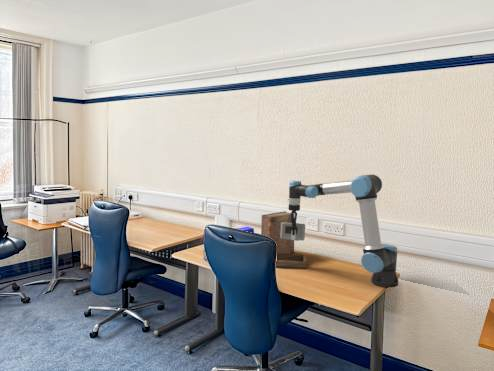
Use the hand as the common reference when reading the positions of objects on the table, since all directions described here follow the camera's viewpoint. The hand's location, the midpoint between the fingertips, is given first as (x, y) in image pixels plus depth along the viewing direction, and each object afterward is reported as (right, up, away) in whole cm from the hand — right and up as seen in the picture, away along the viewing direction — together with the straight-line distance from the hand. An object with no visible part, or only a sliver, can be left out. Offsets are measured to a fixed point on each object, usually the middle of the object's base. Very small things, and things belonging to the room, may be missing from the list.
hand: (292, 237), depth 252 cm
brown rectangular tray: (-2, -18, +3) cm, 18 cm away
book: (-8, -16, +23) cm, 29 cm away
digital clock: (0, -1, -1) cm, 1 cm away
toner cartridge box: (-43, -16, +18) cm, 49 cm away
